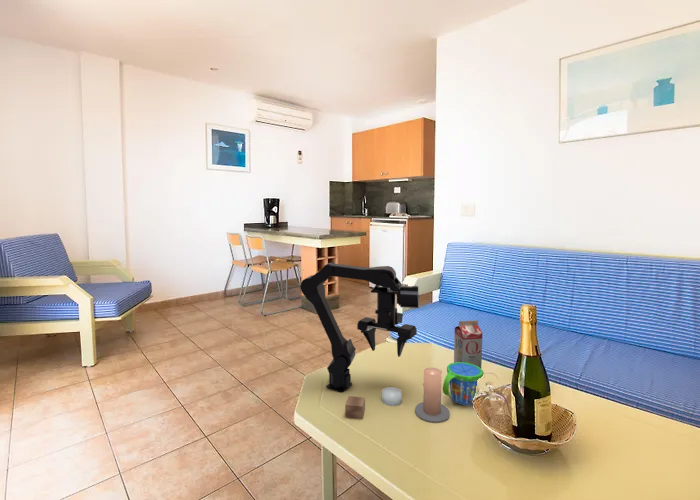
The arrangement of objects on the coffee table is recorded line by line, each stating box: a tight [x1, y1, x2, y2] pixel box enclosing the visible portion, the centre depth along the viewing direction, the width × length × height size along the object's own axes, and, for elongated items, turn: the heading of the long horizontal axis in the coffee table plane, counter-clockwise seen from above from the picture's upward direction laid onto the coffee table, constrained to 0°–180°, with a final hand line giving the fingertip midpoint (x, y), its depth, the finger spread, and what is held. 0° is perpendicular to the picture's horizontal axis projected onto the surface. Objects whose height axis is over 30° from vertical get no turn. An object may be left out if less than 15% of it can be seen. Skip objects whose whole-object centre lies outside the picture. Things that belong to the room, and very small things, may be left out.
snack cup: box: [442, 362, 485, 407], centre depth 111 cm, size 16×10×10 cm
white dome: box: [381, 386, 403, 407], centre depth 111 cm, size 6×6×3 cm
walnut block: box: [344, 395, 366, 420], centre depth 105 cm, size 5×5×4 cm
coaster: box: [414, 401, 451, 424], centre depth 105 cm, size 10×10×1 cm
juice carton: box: [453, 319, 483, 369], centre depth 121 cm, size 7×7×22 cm
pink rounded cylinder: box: [422, 367, 443, 415], centre depth 104 cm, size 5×5×12 cm
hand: (386, 353), depth 116 cm, fingers open, 9 cm apart
